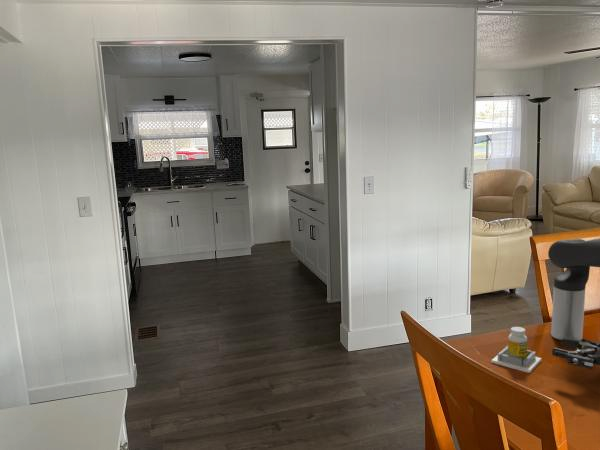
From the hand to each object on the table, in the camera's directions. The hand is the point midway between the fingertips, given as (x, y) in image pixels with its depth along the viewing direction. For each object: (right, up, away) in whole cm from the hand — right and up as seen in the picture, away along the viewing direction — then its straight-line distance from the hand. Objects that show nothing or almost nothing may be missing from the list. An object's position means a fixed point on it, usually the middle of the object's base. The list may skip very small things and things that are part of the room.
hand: (557, 346), depth 141 cm
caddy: (-8, -7, +9) cm, 14 cm away
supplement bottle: (-8, -6, +9) cm, 13 cm away
